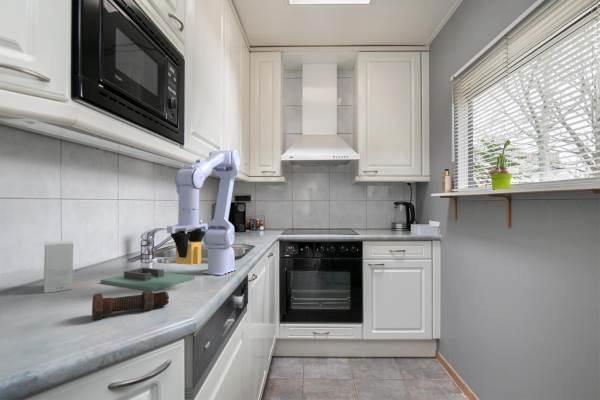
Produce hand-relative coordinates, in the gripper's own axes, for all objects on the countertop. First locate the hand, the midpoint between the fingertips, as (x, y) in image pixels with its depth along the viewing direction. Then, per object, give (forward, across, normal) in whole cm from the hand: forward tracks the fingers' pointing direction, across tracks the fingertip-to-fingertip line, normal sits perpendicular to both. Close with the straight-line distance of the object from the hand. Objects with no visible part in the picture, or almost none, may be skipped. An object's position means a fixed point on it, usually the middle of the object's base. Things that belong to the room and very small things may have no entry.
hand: (188, 256), depth 93 cm
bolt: (+9, +22, +4) cm, 24 cm away
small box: (+9, +17, -32) cm, 37 cm away
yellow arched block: (+2, 0, 0) cm, 2 cm away
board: (+9, 0, -16) cm, 18 cm away
